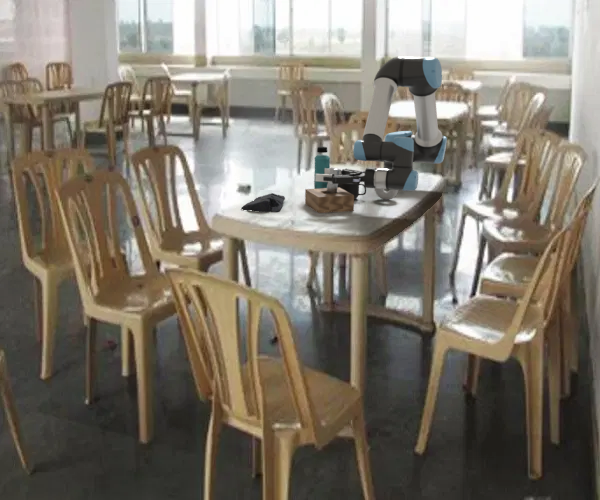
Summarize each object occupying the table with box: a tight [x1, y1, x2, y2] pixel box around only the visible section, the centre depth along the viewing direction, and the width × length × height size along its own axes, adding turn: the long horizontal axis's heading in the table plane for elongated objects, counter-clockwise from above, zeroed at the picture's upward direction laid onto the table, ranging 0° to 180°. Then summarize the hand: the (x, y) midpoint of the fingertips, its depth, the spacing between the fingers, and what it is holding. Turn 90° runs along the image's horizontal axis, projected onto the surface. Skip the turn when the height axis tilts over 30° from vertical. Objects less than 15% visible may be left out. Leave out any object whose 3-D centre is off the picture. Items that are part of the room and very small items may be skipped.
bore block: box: [304, 187, 355, 214], centre depth 321 cm, size 14×16×6 cm
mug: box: [338, 183, 367, 200], centre depth 337 cm, size 12×9×7 cm
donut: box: [373, 187, 399, 201], centre depth 336 cm, size 10×4×10 cm, turn 67°
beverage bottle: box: [313, 146, 331, 189], centre depth 342 cm, size 6×7×20 cm
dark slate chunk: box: [240, 193, 286, 213], centre depth 324 cm, size 15×22×5 cm
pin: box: [326, 167, 342, 194], centre depth 319 cm, size 4×4×14 cm
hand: (320, 174), depth 320 cm, fingers open, 12 cm apart
